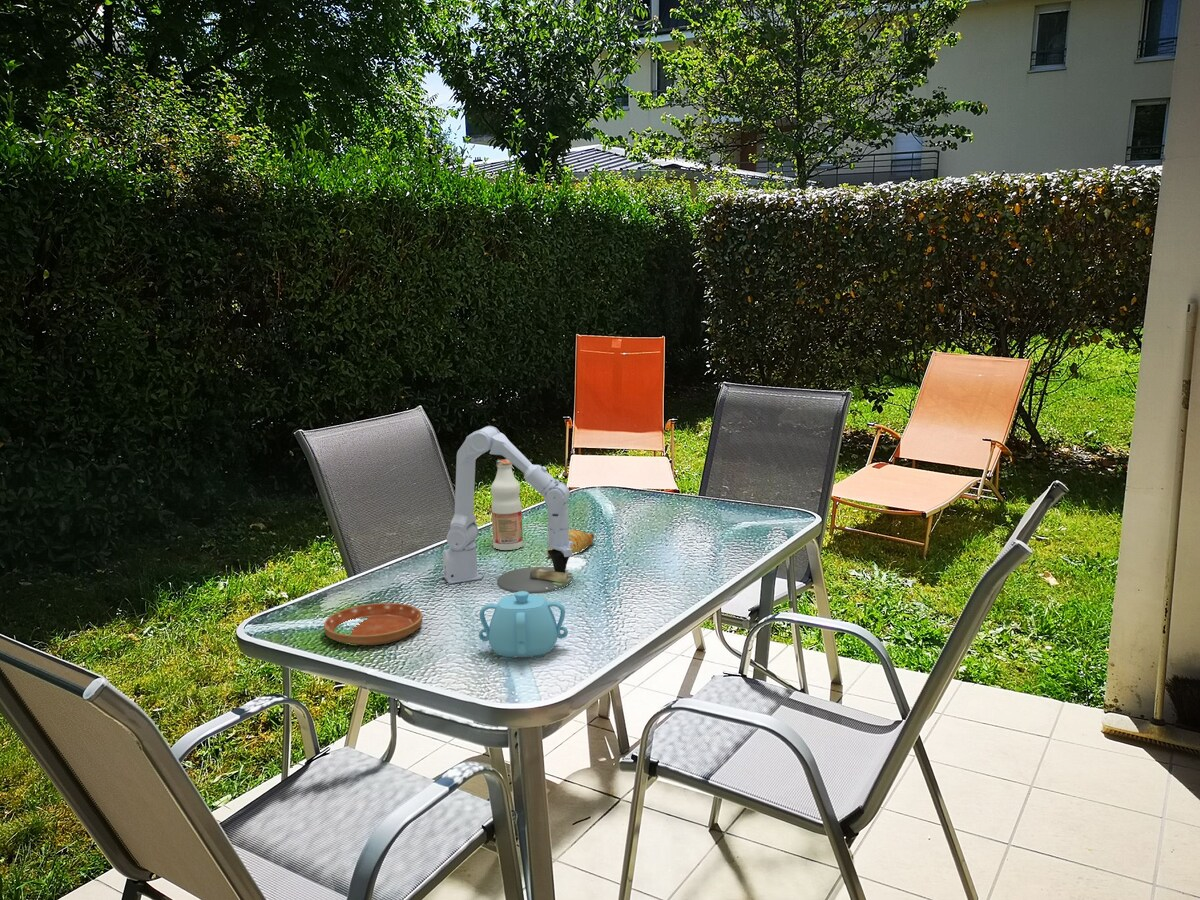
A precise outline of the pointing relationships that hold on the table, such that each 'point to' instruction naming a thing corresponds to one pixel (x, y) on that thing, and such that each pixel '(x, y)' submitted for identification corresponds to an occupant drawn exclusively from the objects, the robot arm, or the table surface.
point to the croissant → (578, 540)
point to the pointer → (547, 575)
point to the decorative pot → (522, 625)
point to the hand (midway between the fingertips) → (560, 575)
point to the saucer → (375, 623)
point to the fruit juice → (506, 509)
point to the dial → (529, 581)
